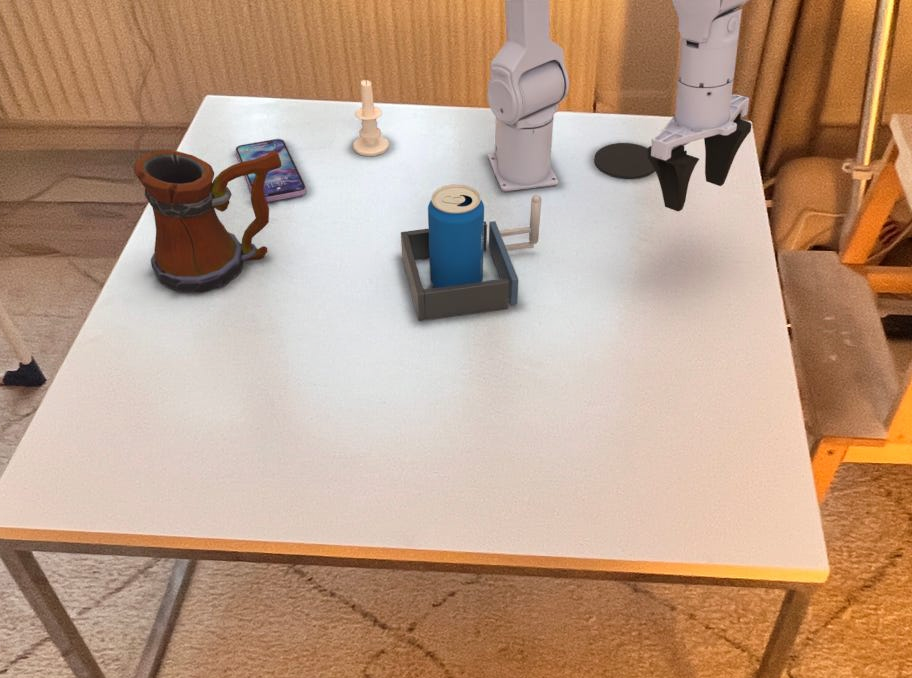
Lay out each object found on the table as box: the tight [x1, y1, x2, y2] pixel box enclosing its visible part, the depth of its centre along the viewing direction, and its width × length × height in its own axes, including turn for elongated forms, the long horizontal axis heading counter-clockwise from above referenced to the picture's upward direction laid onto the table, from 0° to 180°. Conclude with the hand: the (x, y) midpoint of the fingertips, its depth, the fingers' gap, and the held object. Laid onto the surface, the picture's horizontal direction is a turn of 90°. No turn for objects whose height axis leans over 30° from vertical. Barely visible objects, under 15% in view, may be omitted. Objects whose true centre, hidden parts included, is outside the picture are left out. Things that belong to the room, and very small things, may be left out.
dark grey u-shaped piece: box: [400, 220, 509, 322], centre depth 113 cm, size 11×13×4 cm
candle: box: [352, 79, 390, 157], centre depth 132 cm, size 5×5×10 cm
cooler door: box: [488, 194, 542, 306], centre depth 112 cm, size 6×12×8 cm, turn 10°
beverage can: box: [427, 183, 485, 288], centre depth 110 cm, size 6×6×12 cm
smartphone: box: [235, 138, 307, 203], centre depth 132 cm, size 7×1×15 cm
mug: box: [132, 150, 282, 293], centre depth 112 cm, size 18×12×15 cm, turn 102°
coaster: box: [593, 142, 656, 180], centre depth 132 cm, size 9×9×1 cm
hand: (694, 195), depth 107 cm, fingers open, 7 cm apart
